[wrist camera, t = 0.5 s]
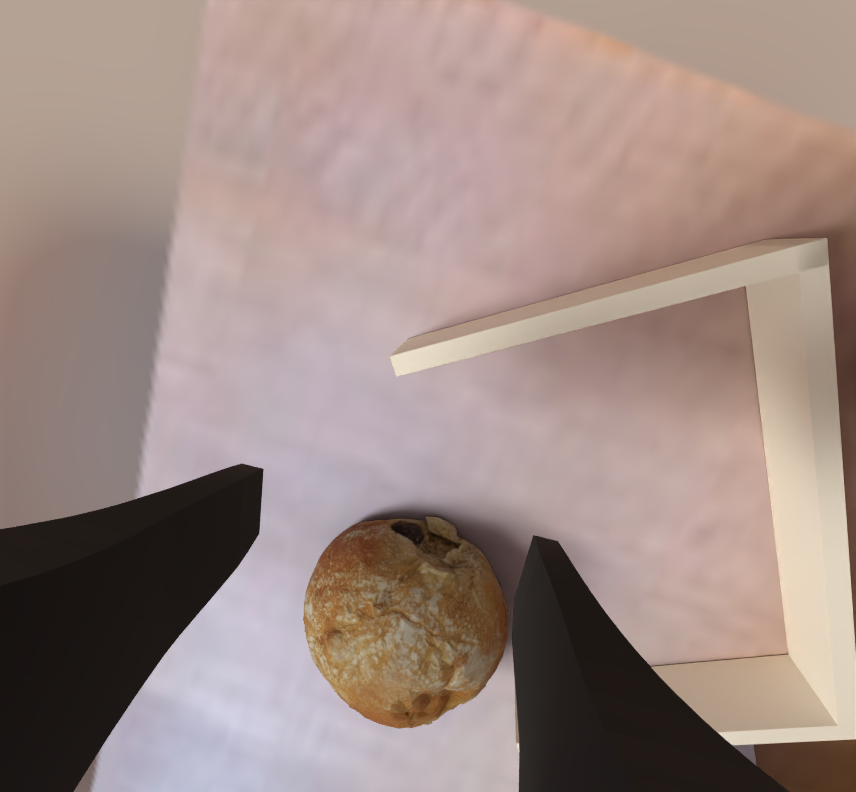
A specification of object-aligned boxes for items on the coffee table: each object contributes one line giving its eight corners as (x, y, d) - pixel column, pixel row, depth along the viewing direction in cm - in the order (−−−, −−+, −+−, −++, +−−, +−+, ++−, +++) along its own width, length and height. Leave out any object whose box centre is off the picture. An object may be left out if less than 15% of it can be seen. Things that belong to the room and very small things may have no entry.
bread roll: (512, 515, 26) (522, 540, 19) (498, 706, 25) (502, 820, 17) (345, 496, 28) (289, 511, 20) (324, 677, 27) (256, 769, 19)
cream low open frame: (808, 665, 22) (861, 739, 19) (518, 689, 25) (520, 755, 22) (764, 239, 17) (826, 237, 14) (408, 338, 20) (389, 356, 17)
